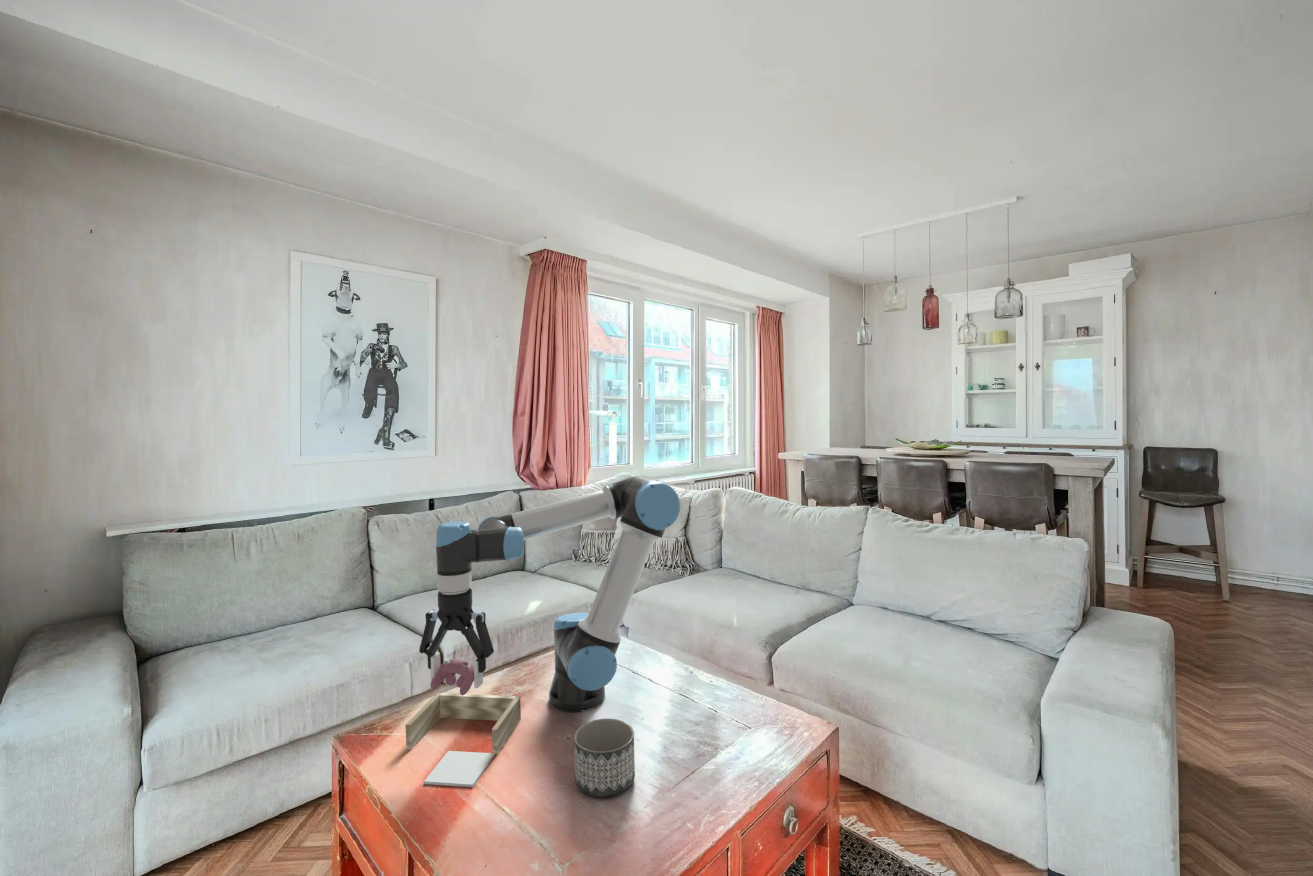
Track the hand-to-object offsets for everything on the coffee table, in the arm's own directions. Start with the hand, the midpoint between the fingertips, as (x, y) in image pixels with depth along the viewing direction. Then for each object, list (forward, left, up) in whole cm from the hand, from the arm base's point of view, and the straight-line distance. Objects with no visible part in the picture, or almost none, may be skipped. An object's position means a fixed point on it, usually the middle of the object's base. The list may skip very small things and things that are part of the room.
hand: (457, 683), depth 134 cm
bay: (+2, -7, -16) cm, 18 cm away
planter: (-36, +8, -16) cm, 41 cm away
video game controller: (0, +1, -1) cm, 1 cm away
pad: (-3, +7, -16) cm, 18 cm away
